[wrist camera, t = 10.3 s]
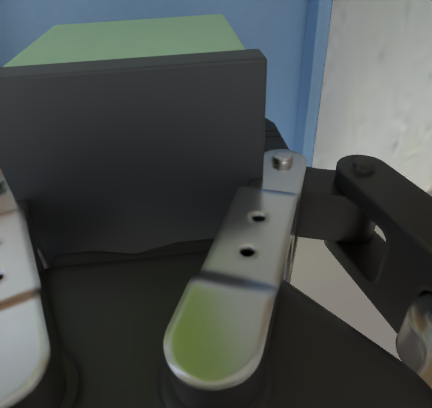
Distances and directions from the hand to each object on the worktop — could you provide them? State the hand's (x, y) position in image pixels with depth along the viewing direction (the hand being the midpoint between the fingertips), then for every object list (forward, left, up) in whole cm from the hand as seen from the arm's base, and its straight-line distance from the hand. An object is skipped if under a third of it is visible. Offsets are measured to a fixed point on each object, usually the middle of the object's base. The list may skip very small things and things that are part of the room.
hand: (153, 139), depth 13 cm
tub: (0, 0, -1) cm, 1 cm away
